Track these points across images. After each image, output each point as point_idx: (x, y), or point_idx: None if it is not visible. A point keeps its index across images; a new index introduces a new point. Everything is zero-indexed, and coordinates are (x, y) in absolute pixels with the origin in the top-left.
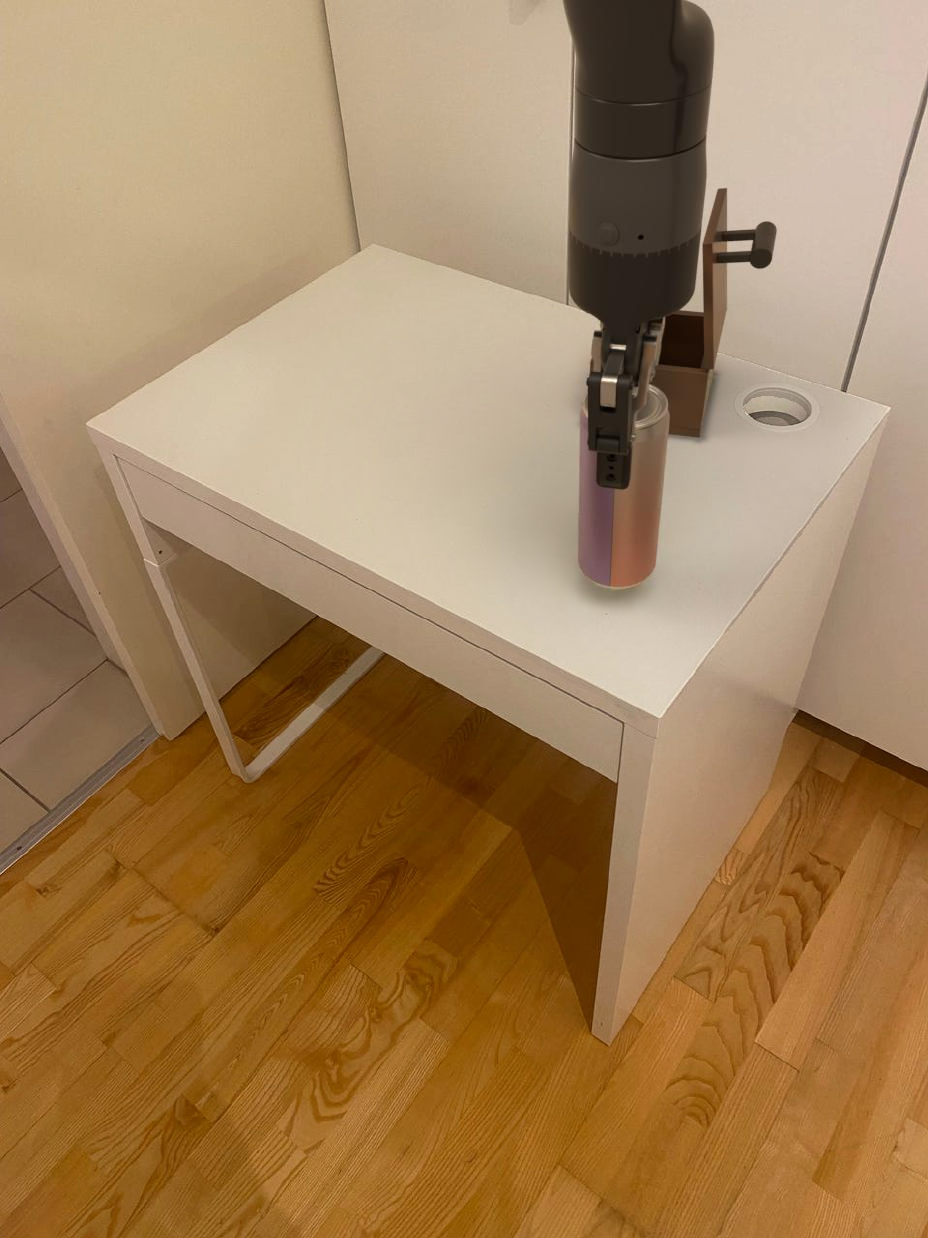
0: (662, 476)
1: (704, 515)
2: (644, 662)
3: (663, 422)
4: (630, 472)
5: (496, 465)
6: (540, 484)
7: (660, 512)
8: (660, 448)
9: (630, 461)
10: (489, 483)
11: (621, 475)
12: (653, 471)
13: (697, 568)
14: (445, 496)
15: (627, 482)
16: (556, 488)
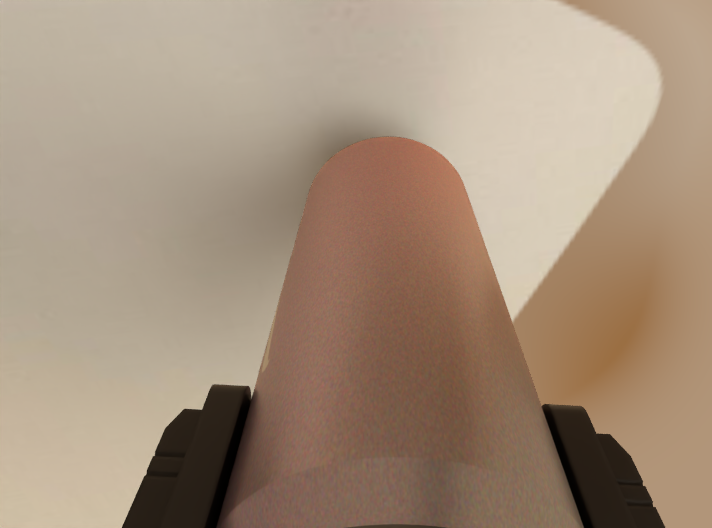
0: (429, 283)
1: (108, 21)
2: (566, 103)
3: (481, 506)
4: (576, 441)
5: (125, 395)
6: (144, 332)
7: (400, 202)
8: (491, 402)
9: (616, 498)
10: (172, 397)
11: (644, 486)
12: (500, 349)
13: (285, 21)
14: None
15: (591, 424)
16: (144, 307)
